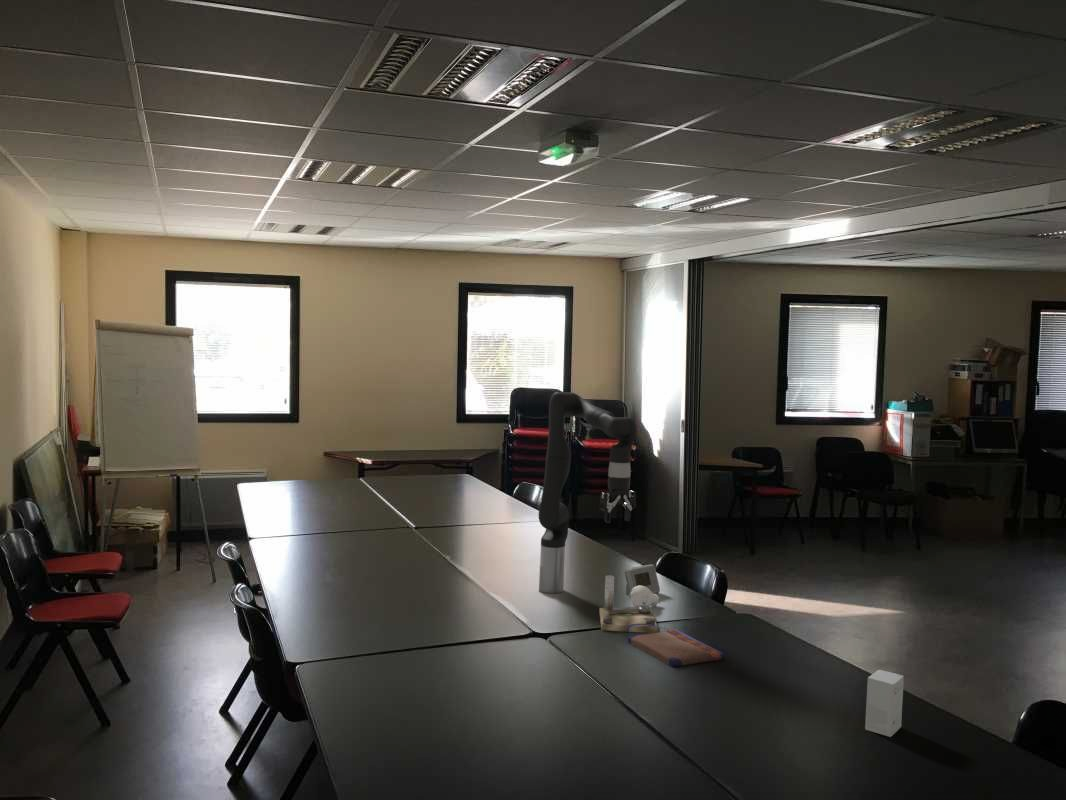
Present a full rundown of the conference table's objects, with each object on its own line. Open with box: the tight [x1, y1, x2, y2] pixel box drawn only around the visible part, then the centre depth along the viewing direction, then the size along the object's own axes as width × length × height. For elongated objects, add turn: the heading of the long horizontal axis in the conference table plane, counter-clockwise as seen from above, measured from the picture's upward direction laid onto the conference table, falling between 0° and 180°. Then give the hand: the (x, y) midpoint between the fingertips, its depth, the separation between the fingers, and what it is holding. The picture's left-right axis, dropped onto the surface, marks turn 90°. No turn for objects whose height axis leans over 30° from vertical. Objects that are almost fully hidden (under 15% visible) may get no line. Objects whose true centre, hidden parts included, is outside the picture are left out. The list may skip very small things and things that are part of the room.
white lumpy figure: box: [630, 585, 660, 607], centre depth 305 cm, size 6×8×12 cm
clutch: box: [626, 624, 725, 668], centre depth 262 cm, size 28×5×19 cm
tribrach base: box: [598, 607, 658, 634], centre depth 286 cm, size 18×18×4 cm
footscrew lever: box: [603, 575, 652, 614], centre depth 290 cm, size 17×5×12 cm, turn 106°
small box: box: [864, 669, 905, 738], centre depth 209 cm, size 8×6×13 cm
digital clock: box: [624, 564, 661, 599], centre depth 321 cm, size 16×9×11 cm, turn 120°
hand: (617, 521), depth 295 cm, fingers open, 8 cm apart
